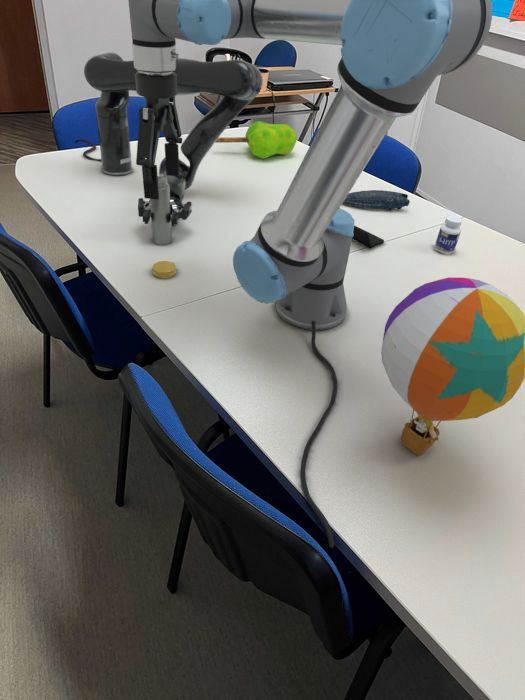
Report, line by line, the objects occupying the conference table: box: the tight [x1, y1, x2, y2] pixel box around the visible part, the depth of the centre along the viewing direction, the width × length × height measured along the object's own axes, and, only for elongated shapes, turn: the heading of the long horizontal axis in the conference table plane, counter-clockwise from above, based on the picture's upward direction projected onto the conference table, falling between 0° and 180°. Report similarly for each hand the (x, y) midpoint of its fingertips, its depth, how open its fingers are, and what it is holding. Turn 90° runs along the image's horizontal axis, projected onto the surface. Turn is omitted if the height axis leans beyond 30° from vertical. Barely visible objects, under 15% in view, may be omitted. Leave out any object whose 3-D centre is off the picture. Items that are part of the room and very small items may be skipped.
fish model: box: [342, 189, 411, 211], centre depth 158 cm, size 7×21×5 cm, turn 84°
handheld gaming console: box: [352, 224, 385, 250], centre depth 139 cm, size 12×7×10 cm
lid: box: [152, 260, 177, 279], centre depth 120 cm, size 5×5×2 cm
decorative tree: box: [214, 120, 298, 160], centre depth 186 cm, size 18×10×30 cm
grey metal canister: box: [149, 175, 173, 246], centre depth 128 cm, size 5×5×16 cm
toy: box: [380, 277, 525, 456], centre depth 75 cm, size 20×20×30 cm
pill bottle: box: [434, 215, 463, 255], centre depth 137 cm, size 5×5×9 cm
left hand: (159, 221), depth 127 cm, fingers open, 6 cm apart
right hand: (162, 186), depth 107 cm, fingers open, 13 cm apart
